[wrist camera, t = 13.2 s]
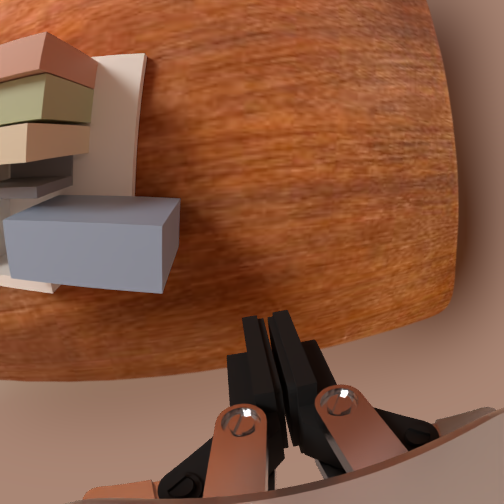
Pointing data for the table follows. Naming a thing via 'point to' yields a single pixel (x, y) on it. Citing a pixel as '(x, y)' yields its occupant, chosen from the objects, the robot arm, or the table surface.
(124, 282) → the grey block
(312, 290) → the table surface
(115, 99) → the shelf
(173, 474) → the robot arm
